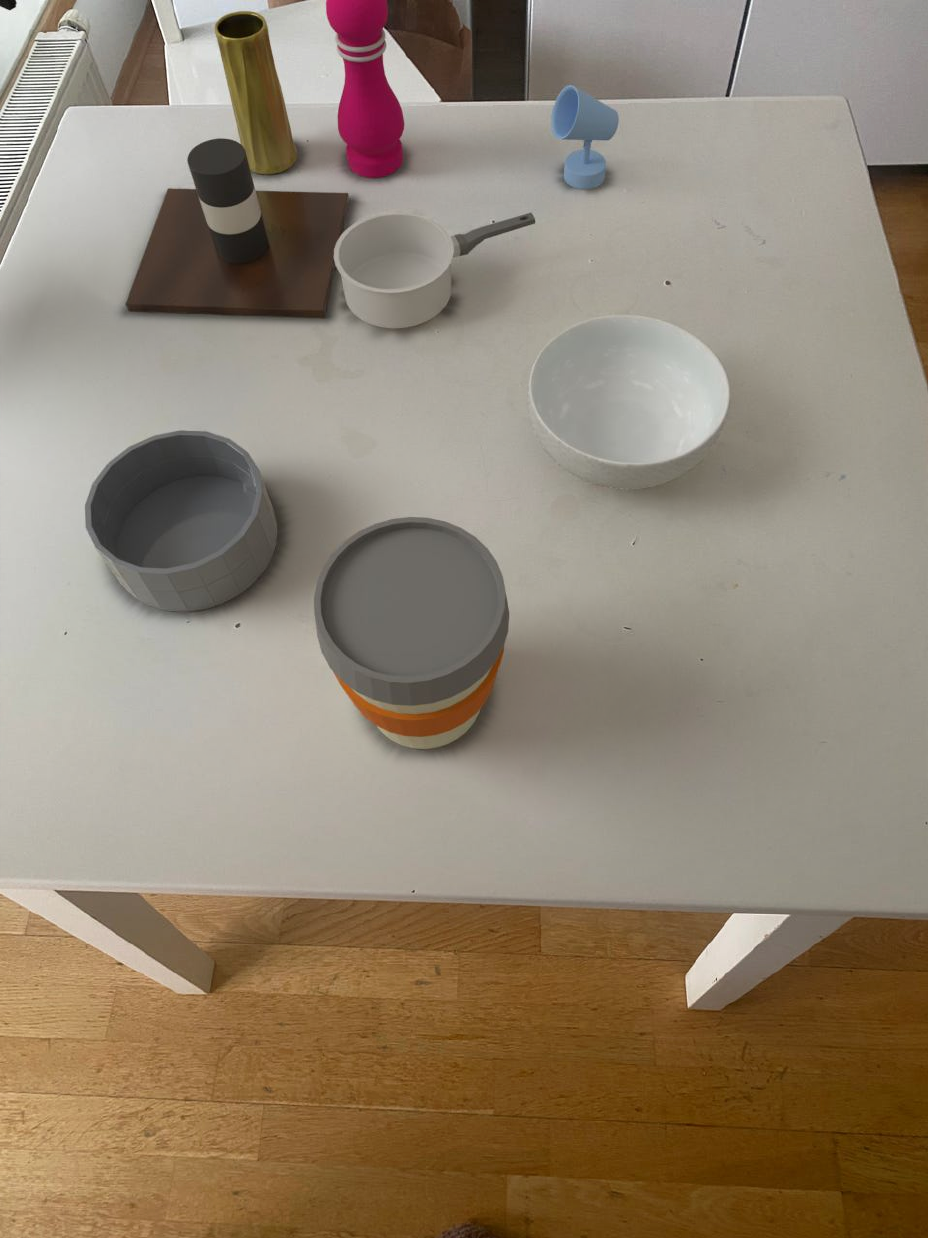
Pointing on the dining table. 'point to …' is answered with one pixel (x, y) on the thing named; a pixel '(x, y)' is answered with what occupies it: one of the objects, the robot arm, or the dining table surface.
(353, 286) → the saucepan
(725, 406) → the cereal bowl
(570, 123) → the spotlight
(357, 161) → the pepper mill
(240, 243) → the dark grey banded canister
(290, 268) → the board
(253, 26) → the vase
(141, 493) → the grey pet bowl
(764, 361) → the dining table surface
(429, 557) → the reusable coffee cup
